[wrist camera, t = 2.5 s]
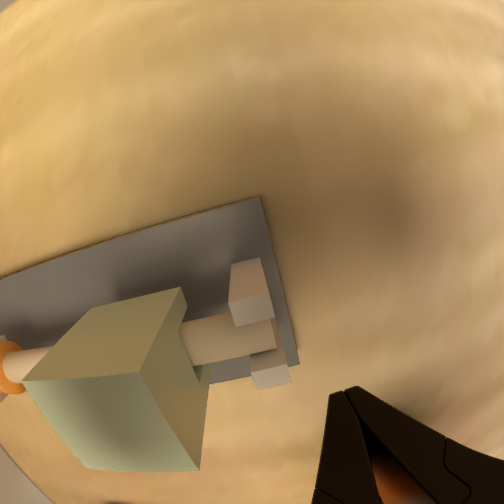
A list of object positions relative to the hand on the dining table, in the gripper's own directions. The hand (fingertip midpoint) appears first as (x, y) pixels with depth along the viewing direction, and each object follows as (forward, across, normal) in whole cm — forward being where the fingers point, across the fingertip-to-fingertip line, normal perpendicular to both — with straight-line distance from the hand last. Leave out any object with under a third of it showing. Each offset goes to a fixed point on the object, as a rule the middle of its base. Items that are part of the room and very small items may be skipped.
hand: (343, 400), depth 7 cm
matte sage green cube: (+7, +7, 0) cm, 10 cm away
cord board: (+10, +12, 0) cm, 16 cm away
